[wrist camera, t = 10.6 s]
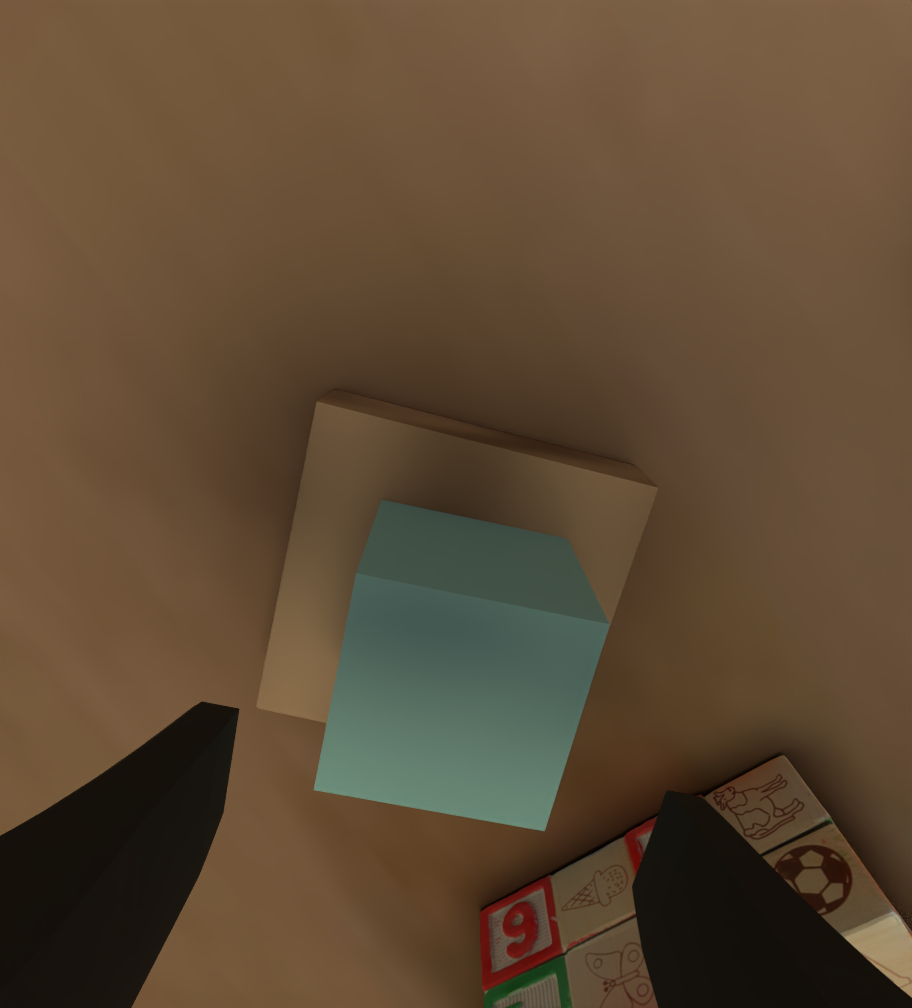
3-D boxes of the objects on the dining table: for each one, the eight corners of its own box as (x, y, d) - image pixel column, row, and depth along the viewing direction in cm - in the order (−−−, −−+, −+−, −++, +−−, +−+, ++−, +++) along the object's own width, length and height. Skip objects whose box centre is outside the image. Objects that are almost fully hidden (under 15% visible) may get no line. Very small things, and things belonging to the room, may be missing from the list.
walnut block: (630, 461, 21) (658, 488, 18) (545, 714, 23) (558, 773, 20) (336, 386, 20) (316, 401, 17) (281, 655, 22) (255, 707, 20)
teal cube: (567, 538, 18) (609, 624, 13) (521, 700, 19) (544, 831, 15) (381, 499, 18) (356, 573, 13) (348, 667, 19) (313, 789, 14)
